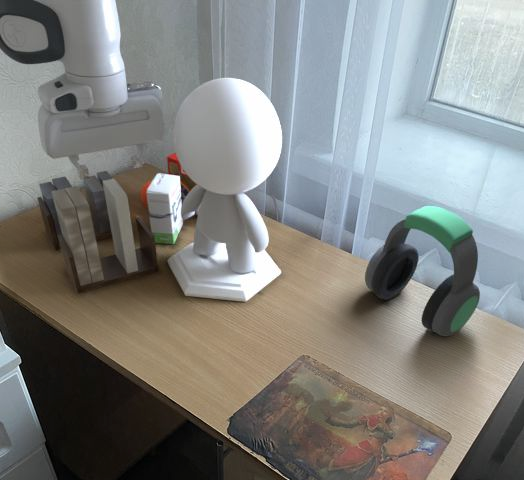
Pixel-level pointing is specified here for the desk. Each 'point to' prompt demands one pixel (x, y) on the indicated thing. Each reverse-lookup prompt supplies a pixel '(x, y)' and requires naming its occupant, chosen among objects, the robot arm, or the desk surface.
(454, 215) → the headphones
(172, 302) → the desk surface
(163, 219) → the ink box
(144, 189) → the clementine
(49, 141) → the robot arm
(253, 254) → the big headed doll
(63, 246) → the brown book rack
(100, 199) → the grey book rack
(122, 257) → the white book
